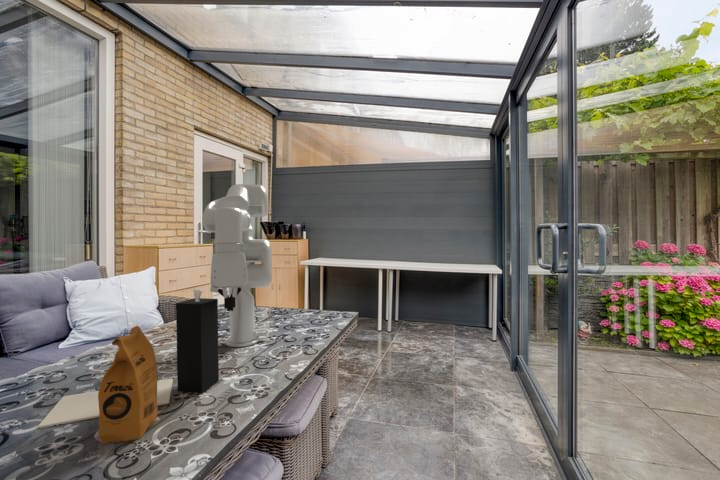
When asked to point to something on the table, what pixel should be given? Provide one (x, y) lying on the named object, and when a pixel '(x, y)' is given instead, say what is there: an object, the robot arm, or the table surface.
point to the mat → (92, 406)
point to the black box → (197, 343)
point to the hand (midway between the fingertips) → (229, 310)
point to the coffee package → (128, 390)
